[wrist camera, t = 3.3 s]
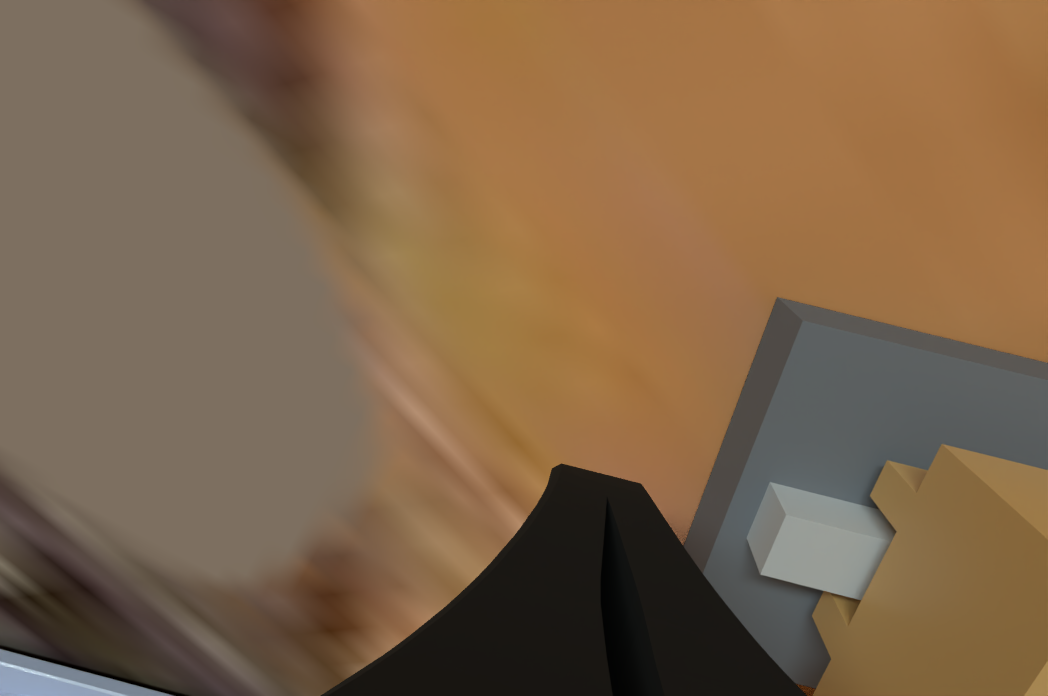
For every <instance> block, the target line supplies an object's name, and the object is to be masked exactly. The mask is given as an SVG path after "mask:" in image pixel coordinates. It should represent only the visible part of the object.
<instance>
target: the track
mask: <svg viewBox="0 0 1048 696" xmlns="http://www.w3.org/2000/svg"><path fill="white" fill-rule="evenodd" d="M941 444H944V445H948V446H952V447H956V448H960V449H965V450H969V451H973V452H977V453H981V454H985V455H989V456H993V457H997V458H1001V459H1005V460H1009V461H1013V462H1017V463H1021V464H1025V465H1029V466H1033V467H1037V468H1041V469H1045V470H1048V363H1045V362H1041V361H1037V360H1033V359H1029V358H1025V357H1021V356H1017V355H1013V354H1008V353H1004V352H1000V351H996V350H992V349H988V348H984V347H980V346H976V345H971V344H967V343H963V342H959V341H955V340H951V339H947V338H943V337H939V336H934V335H930V334H926V333H922V332H918V331H914V330H910V329H906V328H902V327H897V326H893V325H889V324H885V323H881V322H877V321H873V320H869V319H865V318H860V317H856V316H852V315H848V314H844V313H840V312H836V311H832V310H828V309H823V308H819V307H815V306H811V305H807V304H803V303H799V302H795V301H791V300H786V299H782V298H778V297H777V299H776V302H775V305H774V307H773V310H772V312H771V315H770V318H769V320H768V323H767V326H766V328H765V331H764V334H763V336H762V339H761V342H760V344H759V347H758V350H757V352H756V355H755V358H754V360H753V363H752V366H751V368H750V371H749V374H748V376H747V379H746V382H745V384H744V387H743V390H742V392H741V395H740V398H739V400H738V403H737V406H736V408H735V411H734V414H733V416H732V419H731V422H730V424H729V427H728V430H727V432H726V435H725V438H724V440H723V443H722V445H721V448H720V451H719V453H718V456H717V459H716V461H715V464H714V467H713V469H712V472H711V475H710V477H709V480H708V483H707V485H706V488H705V491H704V493H703V496H702V499H701V501H700V504H699V507H698V509H697V512H696V515H695V517H694V520H693V523H692V525H691V528H690V531H689V533H688V536H687V539H686V541H685V544H684V548H685V549H686V551H687V552H688V554H689V555H690V556H691V558H692V559H693V561H694V562H695V564H696V565H697V566H698V568H699V569H700V570H701V572H702V573H703V575H704V576H705V577H706V579H707V580H708V581H709V583H710V584H711V585H712V587H713V588H714V589H715V590H716V592H717V593H718V594H719V596H720V597H721V598H722V600H723V601H724V602H725V603H726V604H727V606H728V607H729V608H730V609H731V611H732V612H733V613H734V614H735V616H736V617H737V618H738V619H739V621H740V622H741V623H742V624H743V625H744V627H745V628H746V629H747V630H748V632H749V633H750V634H751V635H752V636H753V638H754V639H755V640H756V641H757V642H758V643H759V644H760V646H761V647H762V648H763V649H764V650H765V651H766V652H767V654H768V655H769V656H770V657H771V658H772V659H773V660H774V661H775V662H776V663H777V665H778V666H779V667H780V668H781V669H782V670H783V671H784V672H785V673H786V674H787V675H788V676H789V677H790V678H791V679H792V680H793V681H794V683H796V684H799V685H803V686H807V687H811V688H815V689H816V688H817V686H818V684H819V682H820V680H821V678H822V676H823V674H824V672H825V670H826V668H827V666H828V664H829V662H830V660H831V657H830V655H829V653H828V651H827V648H826V646H825V644H824V642H823V640H822V637H821V635H820V633H819V631H818V628H817V626H816V624H815V622H814V619H813V617H812V614H813V612H814V610H815V608H816V606H817V604H818V602H819V600H820V598H821V596H822V593H823V591H827V592H831V593H834V594H838V595H842V596H846V597H850V598H854V599H858V600H862V598H863V596H864V594H865V592H866V590H867V588H868V586H869V584H870V583H871V581H872V579H873V577H874V575H875V573H876V571H877V569H878V567H879V565H880V563H881V561H882V559H883V557H884V555H885V553H886V551H887V549H888V547H889V546H890V544H891V542H892V540H893V538H894V536H895V534H896V532H897V531H896V530H895V529H894V527H893V526H892V525H891V523H890V522H889V521H888V519H887V518H886V517H885V516H884V514H883V513H882V512H881V510H880V509H879V508H878V506H877V505H876V504H875V502H874V501H873V500H872V498H871V497H870V494H871V492H872V490H873V488H874V486H875V484H876V482H877V480H878V478H879V476H880V474H881V472H882V469H883V467H884V465H885V463H886V461H887V460H888V461H892V462H896V463H900V464H904V465H908V466H912V467H916V468H920V469H924V470H929V468H930V466H931V464H932V462H933V460H934V458H935V456H936V454H937V452H938V450H939V448H940V446H941Z"/></svg>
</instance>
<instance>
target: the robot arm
mask: <svg viewBox="0 0 1048 696" xmlns="http://www.w3.org/2000/svg"><path fill="white" fill-rule="evenodd" d="M0 696H174V695H171V694H167V693H163V692H160V691H156V690H152V689H148V688H145V687H141V686H137V685H133V684H130V683H126V682H122V681H119V680H115V679H111V678H107V677H104V676H100V675H96V674H92V673H89V672H85V671H81V670H78V669H74V668H70V667H66V666H63V665H59V664H55V663H51V662H48V661H44V660H40V659H37V658H33V657H29V656H25V655H22V654H18V653H14V652H11V651H7V650H3V649H0ZM321 696H807V695H806V694H805V693H804V692H803V691H802V690H801V689H800V688H799V687H798V686H797V685H796V684H795V683H794V681H793V680H792V679H791V678H790V677H789V676H788V675H787V674H786V673H785V672H784V671H783V670H782V669H781V668H780V667H779V666H778V665H777V663H776V662H775V661H774V660H773V659H772V658H771V657H770V656H769V655H768V654H767V652H766V651H765V650H764V649H763V648H762V647H761V646H760V644H759V643H758V642H757V641H756V640H755V639H754V638H753V636H752V635H751V634H750V633H749V632H748V630H747V629H746V628H745V627H744V625H743V624H742V623H741V622H740V621H739V619H738V618H737V617H736V616H735V614H734V613H733V612H732V611H731V609H730V608H729V607H728V606H727V604H726V603H725V602H724V601H723V600H722V598H721V597H720V596H719V594H718V593H717V592H716V590H715V589H714V588H713V587H712V585H711V584H710V583H709V581H708V580H707V579H706V577H705V576H704V575H703V573H702V572H701V570H700V569H699V568H698V566H697V565H696V564H695V562H694V561H693V559H692V558H691V556H690V555H689V554H688V552H687V551H686V549H685V548H684V547H683V545H682V544H681V542H680V541H679V539H678V538H677V536H676V535H675V533H674V532H673V530H672V529H671V527H670V526H669V524H668V523H667V521H666V520H665V518H664V517H663V515H662V514H661V512H660V511H659V509H658V508H657V506H656V505H655V503H654V502H653V500H652V499H651V497H650V496H649V494H648V493H647V491H646V490H645V488H644V487H643V486H642V484H640V483H636V482H632V481H628V480H625V479H621V478H617V477H613V476H609V475H605V474H601V473H597V472H593V471H589V470H585V469H581V468H577V467H573V466H569V465H565V464H560V465H558V466H556V467H554V468H552V470H551V474H550V478H549V482H548V485H547V487H546V489H545V491H544V493H543V495H542V497H541V498H540V500H539V502H538V503H537V505H536V507H535V508H534V509H533V511H532V512H531V514H530V515H529V516H528V518H527V519H526V521H525V522H524V524H523V525H522V526H521V528H520V529H519V530H518V532H517V533H516V534H515V536H514V537H513V538H512V539H511V540H510V541H509V543H508V544H507V545H506V546H505V547H504V548H503V549H502V551H501V552H500V553H499V554H498V555H497V556H496V557H495V559H494V560H493V561H492V562H491V563H490V564H489V565H488V566H487V568H486V569H485V570H484V571H483V572H482V573H481V574H480V575H479V576H478V577H477V578H476V579H475V580H474V581H473V582H472V583H471V584H470V585H469V586H468V587H467V588H465V589H464V590H463V591H462V592H461V593H460V594H459V595H458V596H457V597H456V598H454V599H453V600H452V601H451V602H450V603H449V604H448V605H447V606H446V607H444V608H443V609H442V610H441V611H440V612H438V613H437V614H436V615H435V616H433V617H432V618H431V619H430V620H429V621H427V622H426V623H425V624H424V625H422V626H421V627H420V628H419V629H417V630H416V631H415V632H414V633H412V634H411V635H410V636H409V637H407V638H406V639H405V640H403V641H402V642H401V643H399V644H398V645H397V646H395V647H394V648H392V649H391V650H390V651H388V652H387V653H385V654H384V655H383V656H381V657H380V658H378V659H377V660H375V661H374V662H372V663H370V664H369V665H367V666H366V667H364V668H363V669H361V670H360V671H358V672H357V673H355V674H353V675H352V676H350V677H349V678H347V679H346V680H344V681H343V682H341V683H340V684H338V685H337V686H335V687H333V688H332V689H330V690H329V691H327V692H326V693H324V694H323V695H321Z"/></svg>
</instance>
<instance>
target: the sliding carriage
mask: <svg viewBox="0 0 1048 696" xmlns="http://www.w3.org/2000/svg"><path fill="white" fill-rule="evenodd" d="M870 497H871V498H872V500H873V501H874V502H875V504H876V505H877V506H878V508H879V509H880V510H881V512H882V513H883V514H884V516H885V517H886V518H887V519H888V521H889V522H890V523H891V525H892V526H893V527H894V529H895V530H896V531H897V532H896V534H895V536H894V538H893V540H892V542H891V544H890V546H889V547H888V549H887V551H886V553H885V555H884V557H883V559H882V561H881V563H880V565H879V567H878V569H877V571H876V573H875V575H874V577H873V579H872V581H871V583H870V584H869V586H868V588H867V590H866V592H865V594H864V596H863V598H862V600H858V599H854V598H850V597H846V596H842V595H838V594H834V593H831V592H827V591H823V593H822V596H821V598H820V600H819V602H818V604H817V606H816V608H815V610H814V612H813V614H812V617H813V619H814V622H815V624H816V626H817V628H818V631H819V633H820V635H821V637H822V640H823V642H824V644H825V646H826V648H827V651H828V653H829V655H830V657H831V660H830V662H829V664H828V666H827V668H826V670H825V672H824V674H823V676H822V678H821V680H820V682H819V684H818V686H817V688H816V690H815V692H814V694H813V696H1048V470H1045V469H1041V468H1037V467H1033V466H1029V465H1025V464H1021V463H1017V462H1013V461H1009V460H1005V459H1001V458H997V457H993V456H989V455H985V454H981V453H977V452H973V451H969V450H965V449H960V448H956V447H952V446H948V445H944V444H941V446H940V448H939V450H938V452H937V454H936V456H935V458H934V460H933V462H932V464H931V466H930V468H929V470H924V469H920V468H916V467H912V466H908V465H904V464H900V463H896V462H892V461H888V460H887V461H886V463H885V465H884V467H883V469H882V472H881V474H880V476H879V478H878V480H877V482H876V484H875V486H874V488H873V490H872V492H871V494H870Z"/></svg>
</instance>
